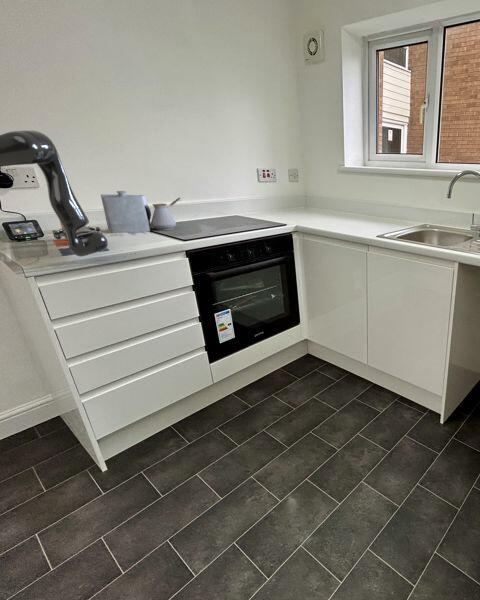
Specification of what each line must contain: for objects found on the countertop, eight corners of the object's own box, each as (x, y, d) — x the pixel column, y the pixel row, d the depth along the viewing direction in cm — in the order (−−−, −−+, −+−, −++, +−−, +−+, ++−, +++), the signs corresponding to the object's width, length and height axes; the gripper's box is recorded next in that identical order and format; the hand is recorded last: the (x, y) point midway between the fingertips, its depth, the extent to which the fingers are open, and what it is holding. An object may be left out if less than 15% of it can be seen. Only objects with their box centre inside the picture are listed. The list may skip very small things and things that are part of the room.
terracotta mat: (57, 248, 141) (57, 247, 141) (53, 241, 152) (52, 240, 152) (101, 243, 151) (101, 242, 151) (94, 237, 162) (94, 236, 162)
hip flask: (149, 230, 181) (140, 190, 174) (151, 231, 178) (141, 190, 171) (111, 233, 171) (99, 190, 164) (111, 234, 169) (100, 191, 161)
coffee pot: (166, 231, 180) (160, 201, 174) (146, 230, 181) (139, 200, 176) (194, 225, 200) (190, 197, 194) (176, 223, 201) (171, 196, 196)
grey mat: (62, 256, 131) (61, 254, 131) (58, 250, 139) (58, 249, 138) (109, 250, 141) (108, 249, 141) (103, 245, 148) (103, 244, 148)
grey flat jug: (154, 228, 187) (147, 194, 180) (151, 230, 182) (143, 194, 176) (112, 228, 182) (103, 193, 175) (107, 230, 177) (98, 194, 171)
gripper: (102, 224, 136) (95, 219, 146) (52, 228, 126) (48, 222, 137) (107, 243, 139) (100, 237, 149) (59, 248, 129) (55, 241, 139)
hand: (75, 230), depth 143 cm, fingers open, 8 cm apart
